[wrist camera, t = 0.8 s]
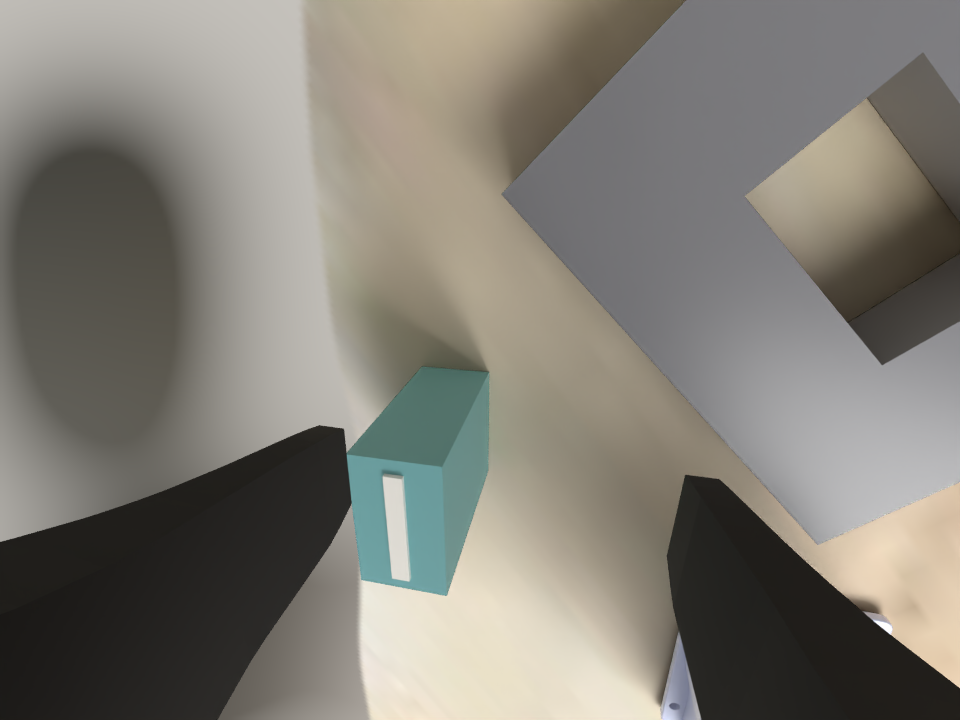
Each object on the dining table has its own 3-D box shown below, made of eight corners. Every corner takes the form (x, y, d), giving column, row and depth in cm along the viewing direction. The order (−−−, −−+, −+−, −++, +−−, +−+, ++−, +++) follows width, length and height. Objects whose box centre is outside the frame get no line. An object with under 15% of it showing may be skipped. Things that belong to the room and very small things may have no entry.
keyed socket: (1257, 250, 13) (1441, 269, 10) (782, 490, 18) (817, 544, 16) (939, -248, 11) (1061, -394, 8) (515, 192, 16) (501, 194, 14)
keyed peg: (488, 470, 21) (445, 599, 15) (426, 462, 22) (359, 583, 15) (489, 372, 19) (440, 469, 13) (422, 366, 20) (343, 457, 13)
